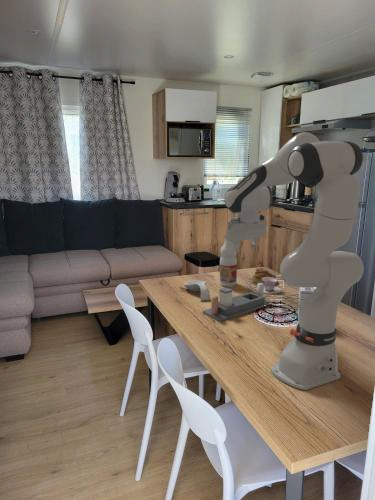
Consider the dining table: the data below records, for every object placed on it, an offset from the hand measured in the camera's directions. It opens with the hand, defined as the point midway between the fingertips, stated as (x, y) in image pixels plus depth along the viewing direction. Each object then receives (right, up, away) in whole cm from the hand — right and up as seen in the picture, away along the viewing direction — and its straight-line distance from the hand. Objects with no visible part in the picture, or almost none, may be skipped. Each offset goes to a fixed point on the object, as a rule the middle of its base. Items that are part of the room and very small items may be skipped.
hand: (245, 249), depth 154 cm
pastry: (+19, -19, +54) cm, 60 cm away
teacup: (+19, -22, +40) cm, 50 cm away
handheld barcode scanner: (-19, -23, +37) cm, 47 cm away
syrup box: (+26, -31, +2) cm, 40 cm away
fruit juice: (-2, -20, +50) cm, 54 cm away
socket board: (-1, -27, +16) cm, 32 cm away
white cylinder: (-7, -28, +11) cm, 30 cm away
